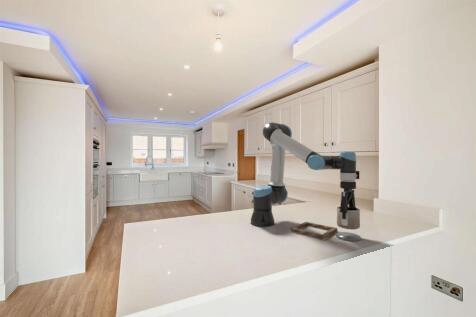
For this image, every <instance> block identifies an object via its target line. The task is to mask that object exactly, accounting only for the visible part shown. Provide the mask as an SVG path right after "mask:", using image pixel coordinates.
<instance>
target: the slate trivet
mask: <svg viewBox="0 0 476 317" xmlns="http://www.w3.org/2000/svg"><path fill="white" fill-rule="evenodd" d="M335 237H336V238H337V239H339V240H342V241H346V242H360V241H361V240H362V237H361V236H360V235H359V234H356V233H352V232H349V231H348V232H347V231H337V232H335Z"/></svg>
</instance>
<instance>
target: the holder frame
mask: <svg viewBox="0 0 476 317" xmlns="http://www.w3.org/2000/svg"><path fill="white" fill-rule="evenodd" d="M305 227H311V228H316V229H320V230H325V231H326V232H324V233H322V234H321V233H318V232H314V231H310V230H309V231H308V230H305V229H304V228H305ZM290 233H296V234H299V235H303V236H307V237H311V238H315V239H320V240H323V241H325V240H326V239H328V238H330V237H331V236H332V235H334V234H336V233H338V227H335V226H330V225H325V224H319V223H314V222H309V221H304V222H302V223H300V224H298V225H295V226H293V227H291V228H290Z"/></svg>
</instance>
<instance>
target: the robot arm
mask: <svg viewBox="0 0 476 317" xmlns="http://www.w3.org/2000/svg"><path fill="white" fill-rule="evenodd" d="M262 135H263V137H264V139H266V140H267V141H268V142H270V145H271V147H272V148H271V151H272V152H271V167H270V179H269V180H270V181H269V182H267V185H259V186H255V187H254V188H253V194H252V195H253V196H252V197H253V205H252V206H253V207H252V208H253V211H252V215H251V218H250V224H251V225H253V226H257V227H271V226H274V225H275V217H274V214H273V211H272V210H273V209H272V208H273V205H279V204H280V205H281V204H282V203H284V202H286V201H287V198H288V197H289V195H288V194H289V193H288V190H287V188H286V184H285V183H284V173H285V172H284V171H285V160H286V158H285V157H286V151H287V152H288V153H290V154H292V155H293V156H295V157H296V158H298V159H299V160H301V161H303V163H305V164H306V165H307V166H308V168H310V169H311V170H314V171H320V170H322V171H323V170H339V171H340V172H339V180H340V182H339V184H340V185H339V186H340V187H339V188H340V189H343V191H341V196H340V197H341V198H340V206H339V207H340V212H342V225H345V226H348V213H347V209H348V207H354V208H357V207H356V198H355V189H357V182H356V181H357V177H358V174H357V154H356V152H355V151H341V152H339V155H321V154H320V153H317V152H315V151H314V150H313V149H311V148H309V147H307V146H306V145H305V144H303V143H301V142H299V141H298V140H296V139H294V138H293V137H292V136H293V132H292V129H291V128H290V126H288V125H286V124H284V123H277V122H273V121H272V122H268V123H266V124H265V125H264V127H263V129H262Z"/></svg>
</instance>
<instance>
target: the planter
mask: <svg viewBox="0 0 476 317" xmlns="http://www.w3.org/2000/svg"><path fill="white" fill-rule="evenodd" d="M360 210H361V209H360V208H357V207H356V208H354V207H349V206H348V209H347V213H348V226H345V225H342V212H340V206H337V208H336V226H338V227H339V228H342V229H345V230H358V229H360V228H361V211H360Z"/></svg>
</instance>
